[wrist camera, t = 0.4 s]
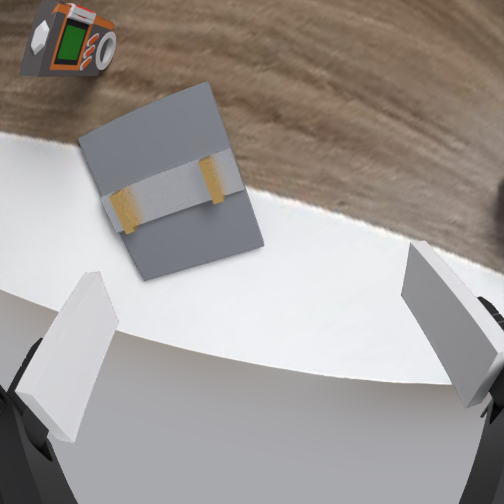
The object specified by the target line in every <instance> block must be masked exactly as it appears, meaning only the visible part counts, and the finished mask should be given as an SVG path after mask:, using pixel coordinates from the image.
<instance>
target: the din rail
mask: <svg viewBox="0 0 504 504" xmlns="http://www.w3.org/2000/svg"><path fill="white" fill-rule="evenodd" d="M244 189H245V187H244V184H243V181H242V179H241V176H240V173H239V170H238V167H237V164H236V161H235V158H234V155H233V152H232V149H231V147H230V148H227V149H224V150H220V151H217V152H215V153H212V154H209V155H206V156H203V157H200V158H197V159H194V160H192V161H189V162H186V163H183V164H180V165H178V166H175V167H172V168H170V169H167V170H164V171H162V172H159V173H157V174H154V175H152V176H149V177H147V178H144V179H142V180H139V181H137V182H134V183H132V184H129V185H127V186H124V187H122V188H120V189H117V190H115V191H113V192H110V193H108V194H106V195H104V196H102V197H101V198H100V200H101V202H102V204H103V206H104V208H105V211H106V213H107V215H108V217H109V219H110V221H111V223H112V225H113V227H114V229H115V231H116V233H118V232H121V231H125V233H126V235H127V234H129V233H132V232H135V231H136V229H137V228H138V226H139V225H140V224H143V223H146V222H148V221H151V220H154V219H157V218H160V217H162V216H165V215H168V214H171V213H174V212H177V211H180V210H183V209H186V208H189V207H191V206H194V205H197V204H200V203H204V202H207V201H210V200H212V201H213V203H214V204H217V203H220V202H223V201H224V200H225V195H228V194H231V193H235V192H238V191H241V190H244Z"/></svg>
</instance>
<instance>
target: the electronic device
mask: <svg viewBox="0 0 504 504" xmlns="http://www.w3.org/2000/svg"><path fill="white" fill-rule="evenodd" d="M113 27H114V24H113V22H111V21H108V20H106V19H104V18H102V17H99V16H97V15H96V14H95V12H93V11H91V10H88V9H86V8H83V7H81V6H78V5H76V4H73V3H64V2H61V1H58V0H55V1H41V2H40V5H39V8H38V10H37V13H36V16H35V19H34V22H33V25H32V29H31V32H30V35H29V39H28V42H27V46H26V49H25V53H24V57H23V61H22V65H21V70H20V74H19V75H24V76H35V77H46V76H98V75H99V72H100V70H103V69H105V68H106V67H107V66H108V64H109V63H110V61H111V59H112V57H113V54H114V51H115V47H116V36H115V34H114V32H112V30H113Z"/></svg>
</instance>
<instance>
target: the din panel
mask: <svg viewBox="0 0 504 504" xmlns="http://www.w3.org/2000/svg"><path fill="white" fill-rule="evenodd" d="M78 140H79V143H80V145H81V148H82V150H83V153H84V155H85V158H86V160H87V163H88V165H89V167H90V170H91V172H92V174H93V177H94V179H95V181H96V183H97V186H98V188H99V190H100V192H101V195H102V196H104V195H106V194H108V193H110V192H113V191H115V190H117V189H120V188H122V187H124V186H127V185H129V184H132V183H134V182H137V181H139V180H142V179H144V178H147V177H149V176H152V175H154V174H157V173H159V172H162V171H164V170H167V169H170V168H172V167H175V166H178V165H180V164H183V163H186V162H189V161H192V160H194V159H197V158H200V157H203V156H206V155H209V154H212V153H215V152H217V151H220V150H224V149H227V148H230V147H231V144H230V141H229V138H228V135H227V132H226V129H225V126H224V124H223V121H222V118H221V115H220V112H219V109H218V106H217V104H216V101H215V98H214V95H213V92H212V89H211V86H210V84H209V81H207V82H204V83H201V84H198V85H196V86H193V87H190V88H187V89H185V90H182V91H180V92H177V93H174V94H172V95H169V96H167V97H164V98H162V99H160V100H157V101H155V102H153V103H150V104H148V105H146V106H143V107H141V108H139V109H137V110H134V111H132V112H130V113H128V114H126V115H124V116H121V117H119V118H117V119H115V120H113V121H111V122H109V123H107V124H105V125H103V126H101V127H99V128H97V129H95V130H93V131H91V132H90V133H88V134H86V135H84V136H82V137H80V138H78ZM231 149H232V147H231ZM232 152H233V150H232ZM233 155H234V152H233ZM234 158H235V155H234ZM235 161H236V158H235ZM236 164H237V161H236ZM237 167H238V164H237ZM238 170H239V167H238ZM239 173H240V170H239ZM240 176H241V173H240ZM241 179H242V176H241ZM242 181H243V179H242ZM243 184H244V182H243ZM244 187H245V185H244ZM119 233H120V235H121V237H122V239H123V241H124V243H125V245H126V247H127V248H128V250H129V252H130V254H131V256H132V258H133V260H134V262H135V264H136V266H137V268H138V270H139V271H140V273H141V275H142V277H143V279H144V281H146V280H150V279H153V278H156V277H160V276H163V275H167V274H170V273H173V272H177V271H180V270H184V269H187V268H191V267H194V266H197V265H201V264H204V263H208V262H211V261H215V260H218V259H221V258H225V257H228V256H232V255H235V254H239V253H242V252H246V251H249V250H252V249H256V248H259V247H263V246H264V241H263V238H262V235H261V232H260V229H259V226H258V223H257V220H256V217H255V214H254V211H253V208H252V205H251V202H250V199H249V196H248V193H247V190H246V188H245V189H244V190H241V191H238V192H235V193H231V194H228V195H225V200H224V201H223V202H220V203H217V204H214V203H213V201H212V200H210V201H207V202H204V203H200V204H197V205H194V206H191V207H189V208H186V209H183V210H180V211H177V212H174V213H171V214H168V215H165V216H162V217H160V218H157V219H154V220H151V221H148V222H146V223H143V224H140V225H139V226H138V228H137V229H136V231H135V232H132V233H129V234H127V235H126V233H125V231H121V232H119Z"/></svg>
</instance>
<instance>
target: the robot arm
mask: <svg viewBox="0 0 504 504" xmlns="http://www.w3.org/2000/svg"><path fill="white" fill-rule="evenodd" d="M401 296H402V298H403V299H404V301H405V302H406V304H407V305H408V307H409V309H410V310H411V312H412V314H413V315H414V317H415V318H416V320H417V322H418V323H419V325H420V327H421V328H422V330H423V332H424V334H425V335H426V337H427V339H428V340H429V342H430V344H431V346H432V347H433V349H434V351H435V353H436V354H437V356H438V358H439V360H440V362H441V363H442V365H443V367H444V369H445V371H446V372H447V374H448V376H449V378H450V380H451V382H452V384H453V386H454V388H455V389H456V391H457V393H458V395H459V397H460V399H461V401H462V403H463V405H464V407H465V409H466V408H469V407H471V406H474V405H476V404H479V403H481V402H482V401H483V399H484V398H485V397H486V395H487V394H488V392H490V394H491V396H492V400H491V401H490V402H489V404H488V405H487V407H486V408H485V410H484V411H483V412H482V414H481V416H480V417H481V418H482V417H484V415H485V414H486V412H487V416H486V420H485V424H484V428H483V432H482V436H481V440H480V443H479V447H478V450H477V454H476V457H475V460H474V463H473V466H472V469H471V472H470V475H469V478H468V481H467V484H466V486H465V489H464V491H463V494H462V497H461V499H460V502H459V504H504V318H503V317H502V316H501V314H499V312H498V311H497V309H496V308H495V307H494V306H493V305H492V304H491V303H490V302H489V301H487V300H486V299H484V298H483V297H481V296H480V297H476V296H475V295H474V294H473V293H472V291H471V290H470V289H469V288H468V287H467V286H466V285H465V283H464V282H463V281H462V280H461V279H460V278H459V277H458V275H457V274H456V273H455V272H454V271H453V270H452V269H451V268H450V267H449V265H448V264H447V263H446V262H445V261H444V260H443V259H442V258H441V257H440V256H439V255H438V254H437V253H436V252H435V250H434V249H433V248H432V247H431V246H430V245H429V244H428V243H427V242H426V241H417V242H410V247H409V254H408V260H407V266H406V272H405V277H404V282H403V288H402V293H401ZM118 323H119V320H118V318H117V315H116V313H115V310H114V308H113V305H112V303H111V300H110V298H109V295H108V293H107V290H106V287H105V285H104V282H103V279H102V277H101V274H100V272H90V273H85V274H84V275H83V277H82V278H81V280H80V281H79V283H78V284H77V286H76V287H75V289H74V290H73V292H72V293H71V295H70V296H69V298H68V299H67V301H66V302H65V304H64V306H63V307H62V309H61V310H60V312H59V314H58V315H57V317H56V318H55V320H54V322H53V323H52V325H51V326H50V328H49V330H48V331H47V333H46V335H45V337H44V338H40V339H39V340H38V341H37V342H36V343H35V344H34V345H33V346H32V347H31V349H30V350H29V352H28V354H27V356H26V358H25V359H24V361H23V363H22V366H21V367H20V368H19V370H18V372H17V374H16V376H15V377H14V379H13V381H12V383H11V385H10V387H9V389H8V391H7V393H6V391H5V390H4V389H3V388H2V386H1V385H0V504H78V503H77V501H76V499H75V497H74V495H73V493H72V491H71V489H70V487H69V485H68V483H67V480H66V478H65V476H64V474H63V471H62V469H61V467H60V465H59V462H58V460H57V457H56V455H55V453H54V450H53V448H52V445H51V443H50V441H49V440H48V438H47V434H48V432H49V431H50V432H51V433H52V434H53V435H54V436H55V438H56V439H58V440H62V441H67V442H73V443H74V442H75V439H76V436H77V432H78V429H79V426H80V423H81V420H82V417H83V414H84V411H85V408H86V405H87V403H88V400H89V397H90V394H91V391H92V388H93V386H94V383H95V381H96V378H97V375H98V372H99V370H100V367H101V365H102V362H103V359H104V357H105V354H106V351H107V349H108V347H109V344H110V342H111V339H112V337H113V334H114V332H115V330H116V327H117V325H118Z"/></svg>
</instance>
